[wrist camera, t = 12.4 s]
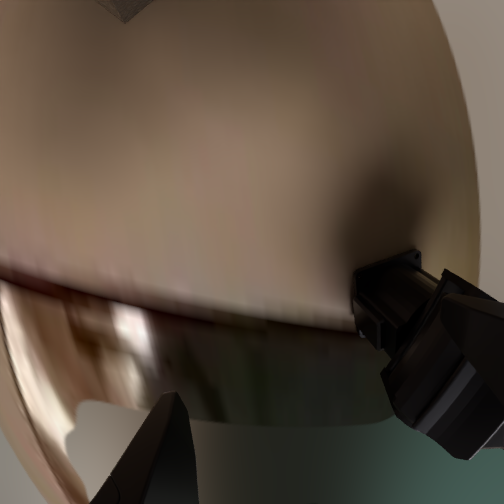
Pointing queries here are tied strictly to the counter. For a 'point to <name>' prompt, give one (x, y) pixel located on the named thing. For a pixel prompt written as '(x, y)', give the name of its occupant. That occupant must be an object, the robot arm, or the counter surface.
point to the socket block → (124, 7)
